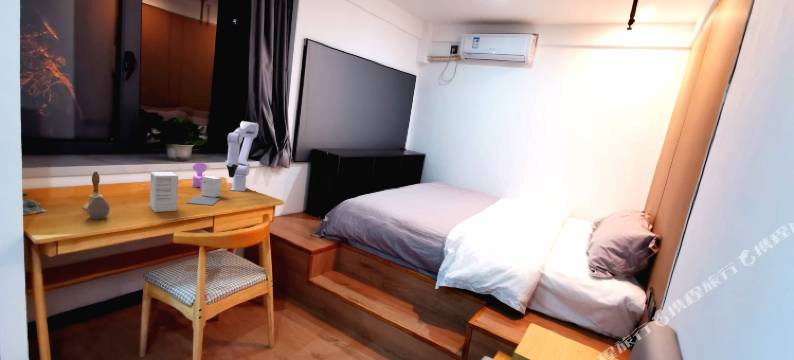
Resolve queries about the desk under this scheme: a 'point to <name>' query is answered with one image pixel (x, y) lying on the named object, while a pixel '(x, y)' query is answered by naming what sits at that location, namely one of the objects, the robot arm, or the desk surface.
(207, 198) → the slate mat
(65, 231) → the desk surface
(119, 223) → the desk surface
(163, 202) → the supplement box
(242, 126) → the robot arm
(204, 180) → the small box
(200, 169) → the toy chair
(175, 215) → the desk surface
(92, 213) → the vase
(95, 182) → the hand bell
